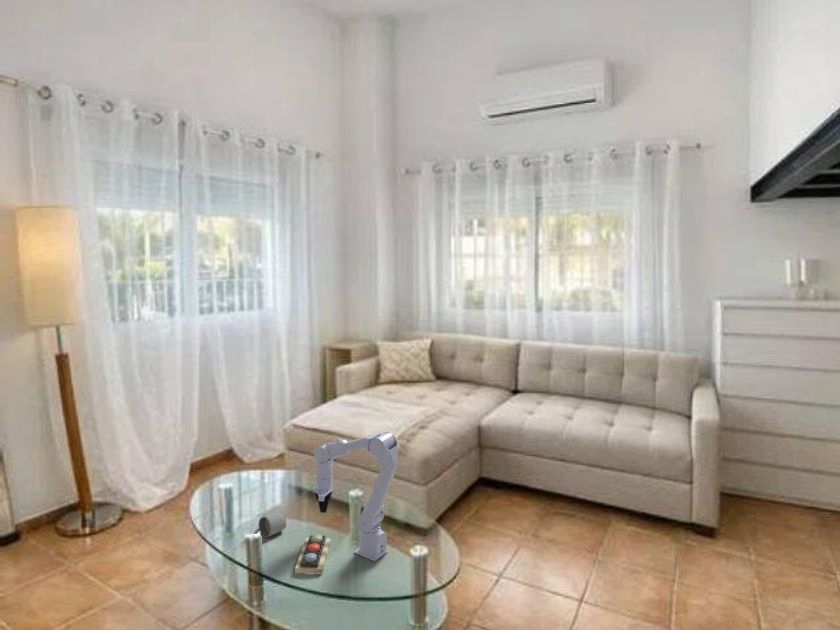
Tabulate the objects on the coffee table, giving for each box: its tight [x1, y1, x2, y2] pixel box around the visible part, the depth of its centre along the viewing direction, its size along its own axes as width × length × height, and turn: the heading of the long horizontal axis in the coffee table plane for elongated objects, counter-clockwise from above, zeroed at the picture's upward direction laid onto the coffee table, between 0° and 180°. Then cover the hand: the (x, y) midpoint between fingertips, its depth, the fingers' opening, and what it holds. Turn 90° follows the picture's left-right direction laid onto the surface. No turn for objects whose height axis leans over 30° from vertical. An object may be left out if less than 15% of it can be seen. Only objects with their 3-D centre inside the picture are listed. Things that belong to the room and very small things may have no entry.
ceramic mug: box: [258, 512, 287, 538], centre depth 202 cm, size 11×8×8 cm
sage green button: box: [311, 533, 323, 543], centre depth 191 cm, size 4×4×2 cm
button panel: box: [294, 534, 331, 575], centre depth 185 cm, size 20×9×3 cm, turn 2°
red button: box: [308, 543, 320, 552], centre depth 185 cm, size 4×4×2 cm
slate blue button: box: [305, 553, 317, 563], centre depth 178 cm, size 4×4×2 cm
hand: (323, 511), depth 198 cm, fingers closed
